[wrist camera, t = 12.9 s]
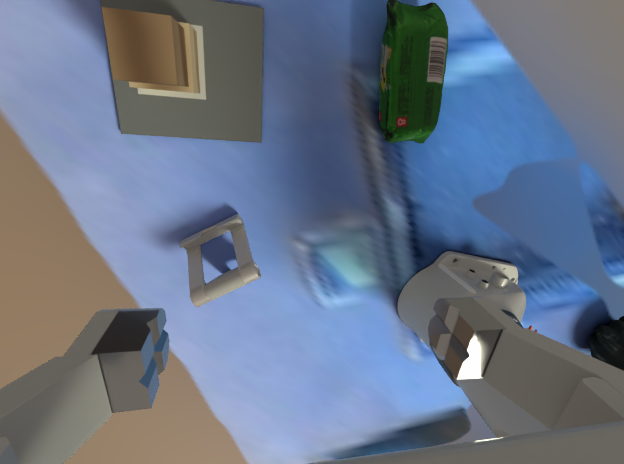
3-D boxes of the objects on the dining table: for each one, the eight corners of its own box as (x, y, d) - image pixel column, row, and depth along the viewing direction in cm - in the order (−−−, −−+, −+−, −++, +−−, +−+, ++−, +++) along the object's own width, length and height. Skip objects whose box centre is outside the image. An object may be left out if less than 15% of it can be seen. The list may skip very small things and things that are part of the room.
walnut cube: (184, 28, 29) (170, 15, 24) (188, 86, 31) (177, 84, 26) (126, 22, 28) (101, 6, 23) (135, 82, 30) (113, 79, 25)
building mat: (263, 9, 33) (263, 7, 32) (261, 141, 38) (261, 142, 38) (100, -15, 30) (97, -17, 29) (123, 133, 35) (120, 133, 35)
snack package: (433, 3, 36) (460, -12, 31) (421, 140, 42) (442, 145, 37) (375, 5, 35) (394, -10, 30) (372, 144, 41) (387, 150, 36)
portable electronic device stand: (237, 211, 42) (233, 236, 34) (263, 255, 45) (265, 287, 37) (181, 238, 42) (165, 268, 34) (212, 280, 45) (203, 316, 38)
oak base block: (196, 31, 32) (189, 23, 29) (200, 93, 34) (193, 92, 31) (135, 24, 31) (119, 14, 27) (143, 88, 33) (129, 87, 30)
